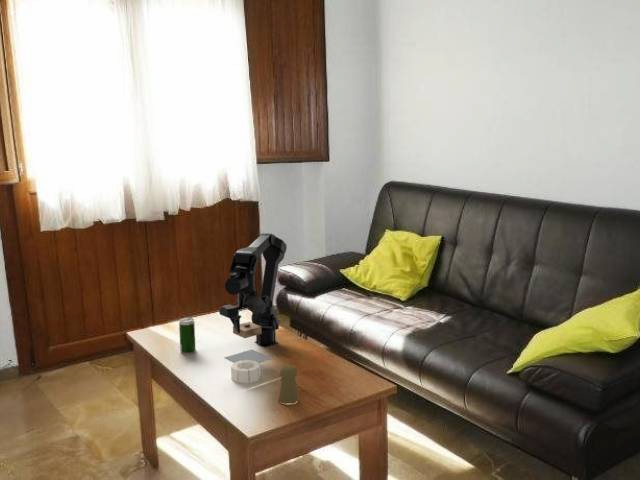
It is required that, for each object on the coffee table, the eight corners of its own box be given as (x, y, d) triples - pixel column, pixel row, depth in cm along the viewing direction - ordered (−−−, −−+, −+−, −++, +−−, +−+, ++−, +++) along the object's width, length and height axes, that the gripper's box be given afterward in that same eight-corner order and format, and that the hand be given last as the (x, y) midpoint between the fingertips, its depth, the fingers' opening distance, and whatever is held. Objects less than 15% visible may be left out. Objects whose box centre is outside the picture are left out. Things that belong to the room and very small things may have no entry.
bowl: (249, 370, 220) (249, 357, 219) (265, 378, 213) (265, 365, 212) (226, 378, 214) (226, 364, 213) (242, 386, 208) (242, 373, 207)
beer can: (183, 355, 233) (182, 323, 231) (178, 351, 237) (176, 319, 235) (198, 352, 236) (196, 320, 234) (192, 348, 240) (190, 316, 238)
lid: (249, 328, 233) (249, 320, 232) (261, 333, 227) (261, 324, 227) (233, 333, 228) (232, 324, 227) (244, 338, 223) (244, 329, 222)
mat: (252, 350, 238) (252, 349, 238) (272, 359, 229) (272, 358, 229) (223, 358, 230) (223, 357, 230) (243, 368, 221) (243, 367, 221)
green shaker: (278, 397, 200) (277, 362, 198) (298, 396, 201) (298, 362, 199) (278, 405, 194) (278, 370, 192) (299, 405, 195) (299, 370, 193)
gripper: (236, 297, 212) (238, 343, 216) (282, 287, 225) (283, 330, 228) (217, 290, 221) (219, 334, 224) (262, 280, 233) (263, 322, 236)
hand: (247, 330), depth 228 cm, fingers closed on lid, 7 cm apart
